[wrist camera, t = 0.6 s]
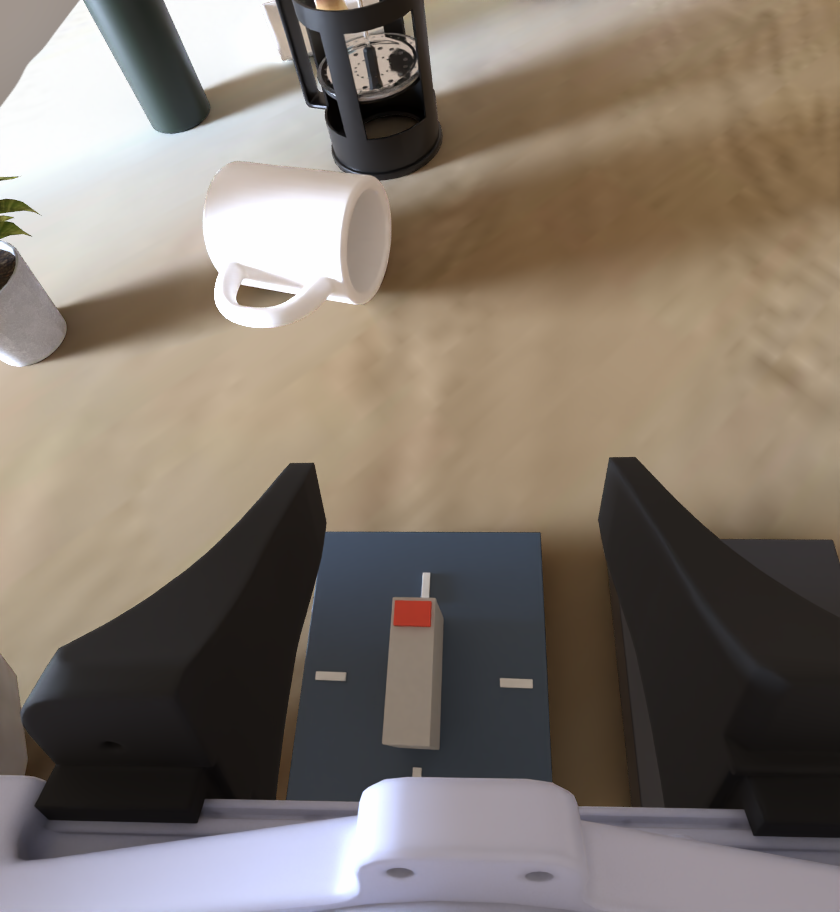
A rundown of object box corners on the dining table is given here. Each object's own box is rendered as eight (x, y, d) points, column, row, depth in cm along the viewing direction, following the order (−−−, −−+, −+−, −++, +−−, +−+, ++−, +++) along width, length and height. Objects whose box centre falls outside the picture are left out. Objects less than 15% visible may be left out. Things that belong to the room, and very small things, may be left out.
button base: (889, 838, 24) (955, 850, 20) (632, 821, 25) (652, 829, 22) (811, 554, 29) (853, 524, 26) (605, 552, 31) (618, 524, 27)
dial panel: (551, 870, 25) (557, 883, 22) (300, 850, 26) (276, 860, 23) (537, 552, 31) (540, 530, 28) (337, 550, 33) (321, 530, 30)
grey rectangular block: (439, 749, 25) (428, 746, 21) (397, 747, 25) (380, 744, 22) (443, 617, 27) (434, 595, 24) (405, 616, 27) (391, 595, 24)
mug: (281, 230, 46) (241, 134, 39) (399, 247, 43) (379, 147, 36) (210, 350, 41) (149, 264, 34) (339, 377, 38) (302, 289, 31)
